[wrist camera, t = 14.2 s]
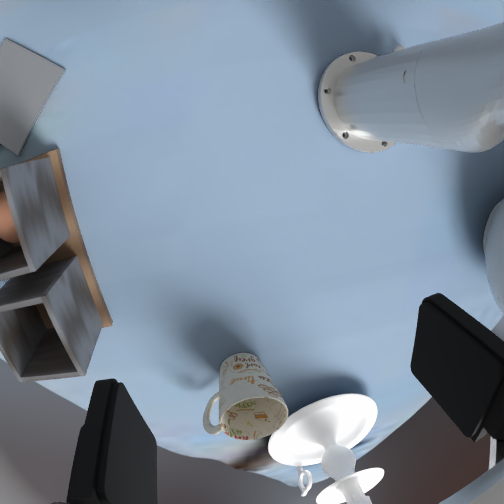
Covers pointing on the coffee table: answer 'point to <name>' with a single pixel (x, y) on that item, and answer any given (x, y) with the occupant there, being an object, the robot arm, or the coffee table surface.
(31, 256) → the dark grey boxy container
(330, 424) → the candlestick
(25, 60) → the mat
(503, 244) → the decorative bowl
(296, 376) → the coffee table surface
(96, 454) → the robot arm
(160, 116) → the coffee table surface
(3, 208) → the ball
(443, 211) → the coffee table surface
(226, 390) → the mug
